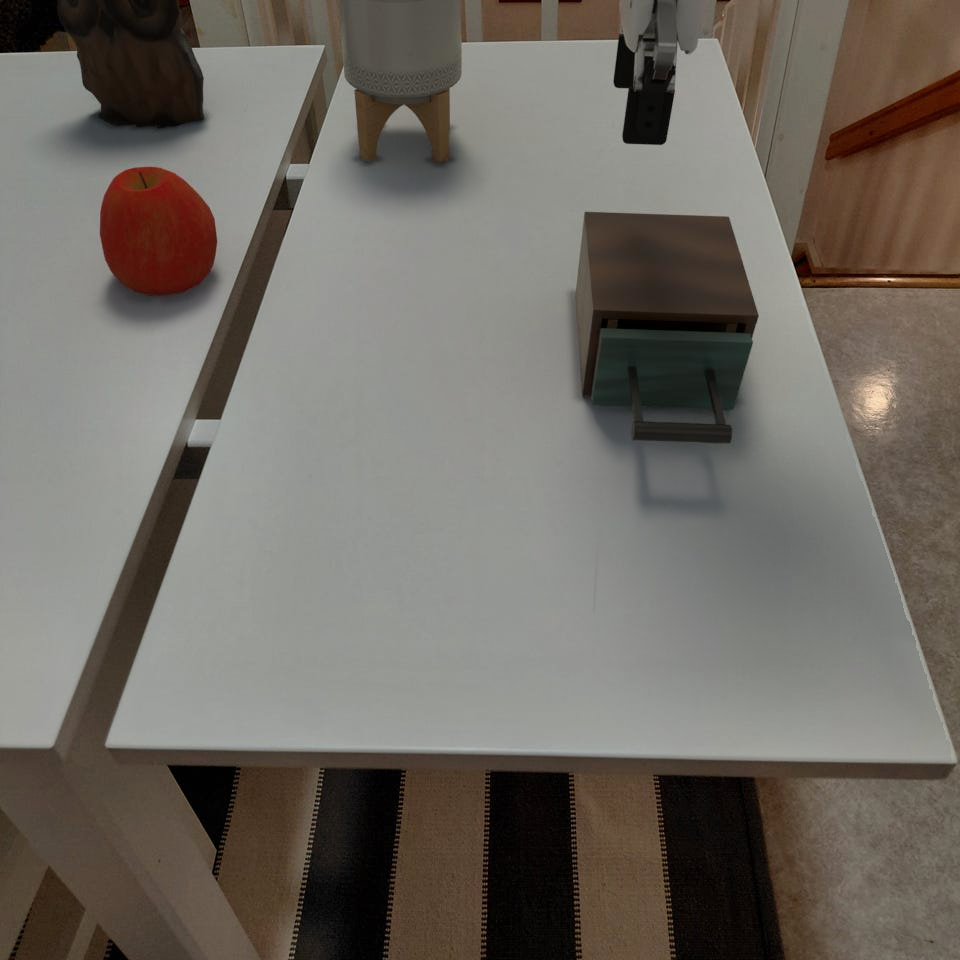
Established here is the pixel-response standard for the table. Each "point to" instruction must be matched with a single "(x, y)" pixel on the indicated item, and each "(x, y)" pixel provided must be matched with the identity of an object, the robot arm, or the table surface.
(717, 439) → the drawer
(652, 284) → the cabinet
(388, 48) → the planter
